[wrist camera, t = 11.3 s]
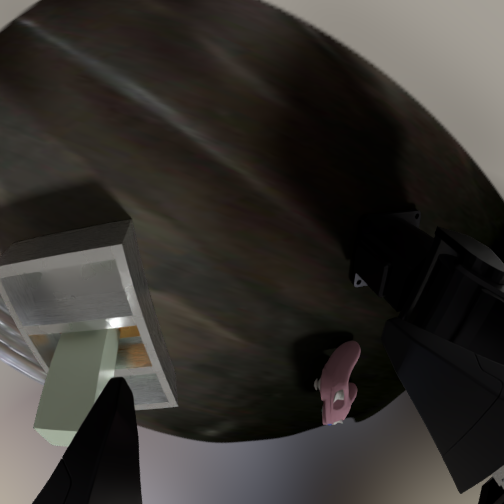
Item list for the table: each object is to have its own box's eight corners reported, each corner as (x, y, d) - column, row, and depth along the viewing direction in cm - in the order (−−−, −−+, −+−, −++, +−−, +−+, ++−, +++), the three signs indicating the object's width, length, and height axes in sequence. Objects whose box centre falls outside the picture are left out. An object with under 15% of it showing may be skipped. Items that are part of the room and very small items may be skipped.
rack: (132, 219, 18) (121, 244, 14) (175, 373, 25) (178, 406, 21) (10, 243, 16) (-14, 269, 12) (78, 380, 23) (72, 410, 19)
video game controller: (316, 337, 29) (310, 395, 23) (360, 335, 28) (361, 394, 22) (321, 386, 34) (316, 434, 28) (357, 385, 32) (355, 434, 27)
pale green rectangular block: (111, 312, 19) (90, 431, 11) (120, 332, 20) (107, 448, 12) (67, 318, 19) (33, 428, 10) (77, 337, 20) (51, 444, 11)
